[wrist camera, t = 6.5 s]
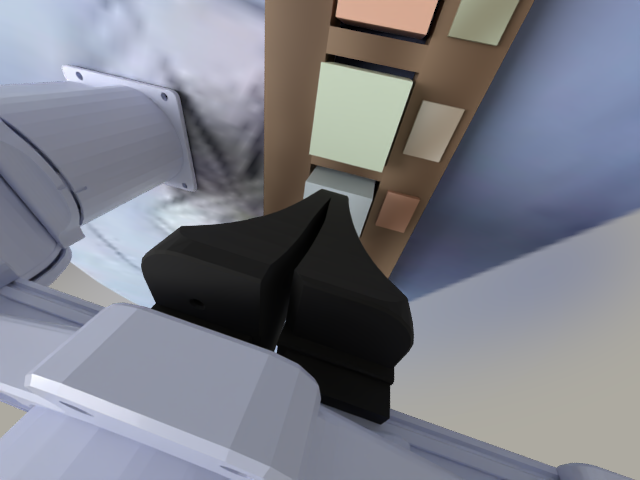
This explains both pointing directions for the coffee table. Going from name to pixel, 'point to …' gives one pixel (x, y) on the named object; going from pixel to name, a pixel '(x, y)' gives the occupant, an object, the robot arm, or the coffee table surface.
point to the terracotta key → (388, 15)
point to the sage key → (357, 114)
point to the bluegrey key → (344, 191)
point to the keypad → (418, 115)
